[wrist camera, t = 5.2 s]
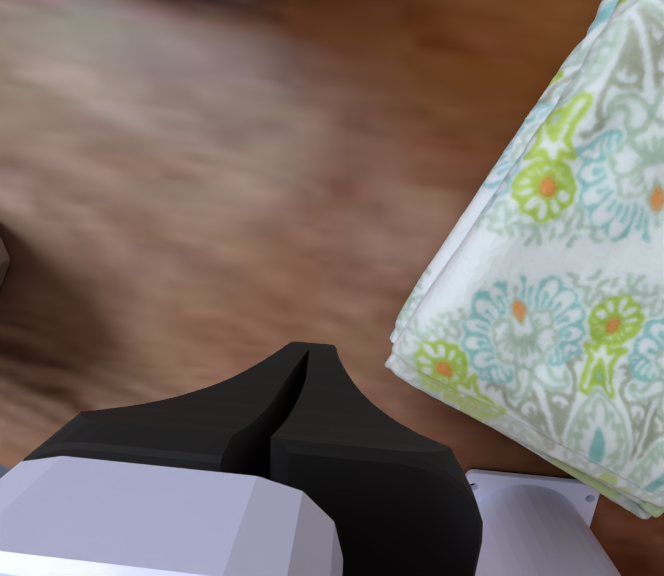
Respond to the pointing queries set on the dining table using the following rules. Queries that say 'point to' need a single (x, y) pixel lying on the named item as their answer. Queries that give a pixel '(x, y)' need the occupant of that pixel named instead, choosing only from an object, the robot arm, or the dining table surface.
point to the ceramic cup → (3, 261)
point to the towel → (563, 274)
